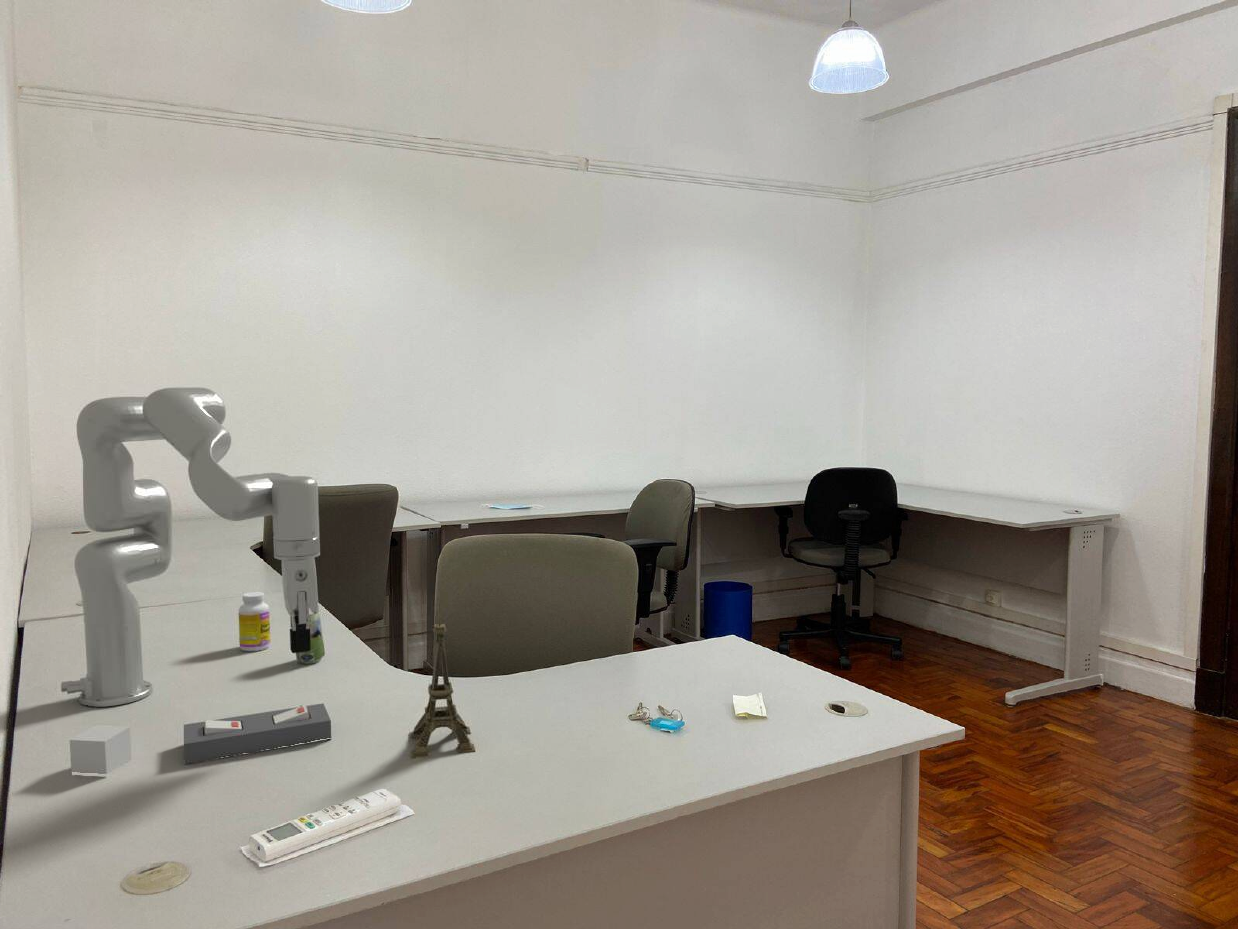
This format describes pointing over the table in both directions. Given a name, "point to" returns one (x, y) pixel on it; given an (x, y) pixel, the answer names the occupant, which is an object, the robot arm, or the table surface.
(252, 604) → the supplement bottle
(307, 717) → the right rocker
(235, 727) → the left rocker
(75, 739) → the pale grey cube
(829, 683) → the table surface
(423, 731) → the eiffel tower
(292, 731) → the rocker switch panel
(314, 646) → the beverage can
